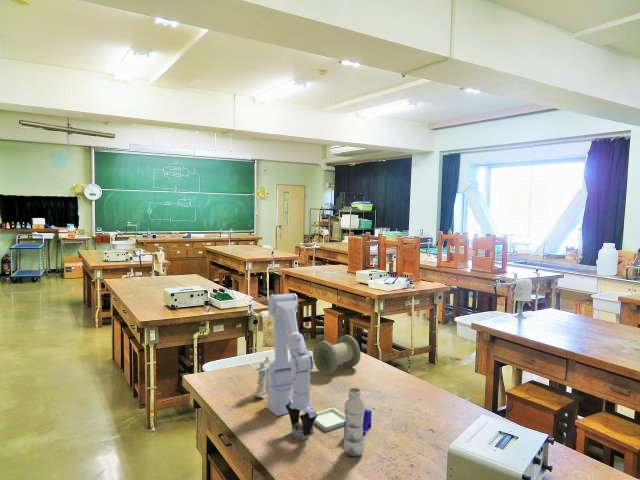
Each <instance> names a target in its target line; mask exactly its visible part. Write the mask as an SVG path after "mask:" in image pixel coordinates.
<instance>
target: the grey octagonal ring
mask: <svg viewBox="0 0 640 480" xmlns="http://www.w3.org/2000/svg"><path fill="white" fill-rule="evenodd" d="M299 423H301V422H300V421H299ZM290 431H291V438H293V440H294V441H305V440H308V439H310V436H311V435H312V434H314V424H313V425H312V429H311V432H310V435H307V436H304V434H303V430H298V423H296V424H293V426H292V425H291V429H290Z"/></svg>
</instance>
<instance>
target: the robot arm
mask: <svg viewBox="0 0 640 480" xmlns="http://www.w3.org/2000/svg"><path fill="white" fill-rule="evenodd" d="M267 303H268V306H267V307H268V309H267V310H268V315H269V316H270V317H272V318H273V319H272V320H273V339H274V340H273V341H274V360H273V361H272V362H271V363H270V364H269V365H267V366H268V374H267V381H268V385H269V388H268V395H267V404H266V405H265V408H267V409H268V410H269V411H270V412H272V413H273V414H274V415H275V416H276V417H279V416H282V415H285V414H288V415H289V420H290V424H291V427H292V426H293V424H296V423H299V422H300V420H301V423H302V426H303V434H304V436H307V435H310V436H311V434H310V432H311V429H312V425H313V426H314V424H315V423H314V421H315V419H316V418H317V414H316V412H317V411H316V410H315V409H314V408H313V405H312V403H311V401H310V400H311V399H310V397H311V393H310V392H311V372H312V371H313V369H314V360H313V355H312V354H311V353H310V351H309V350H308V349H307V346H306V342H305V339H304V336H303V334H302V333H300V332H299V327H298V321H297V316H296V313H297V311H298V306H299V299H298V295H297V294H296V293H295V292H293V293H282V294H281V293H279V294H270V295H269V297H268V300H267ZM288 351H289V353H288ZM289 355H290V360H289ZM301 412H303V414H301ZM300 414H301V415H300Z"/></svg>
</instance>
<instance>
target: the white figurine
mask: <svg viewBox="0 0 640 480" xmlns="http://www.w3.org/2000/svg"><path fill="white" fill-rule="evenodd" d="M268 363H270V359H269V356H265V360H262V361H260V362H259V366H257V367H255V371H257V372H258V380H257V382H256V383H257V386H256V391H255V392H254V393H253V394H252V395H251V396H252V397H253V398H257V397H258V398H259V399H265V398H266V397H268V395H267V394H268V388H269V385H268V381H267V374H268V366H269V365H266V366H265V364H268ZM264 385H265V389H266V390H265V392H264ZM262 392H263V393H262ZM265 396H266V397H265Z"/></svg>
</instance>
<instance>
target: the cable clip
mask: <svg viewBox="0 0 640 480" xmlns="http://www.w3.org/2000/svg"><path fill="white" fill-rule="evenodd" d="M372 414H373V413H372V410H371V409H367V408H365V411H364V418H363V438H364V437H365V436H366V435H367V434H366V433H367V431H368V430H369V429H370V428H371V427H372ZM343 427H344V430H343V431H344V437H343V438H345V430H346V420H345V425H344V426H343Z"/></svg>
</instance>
